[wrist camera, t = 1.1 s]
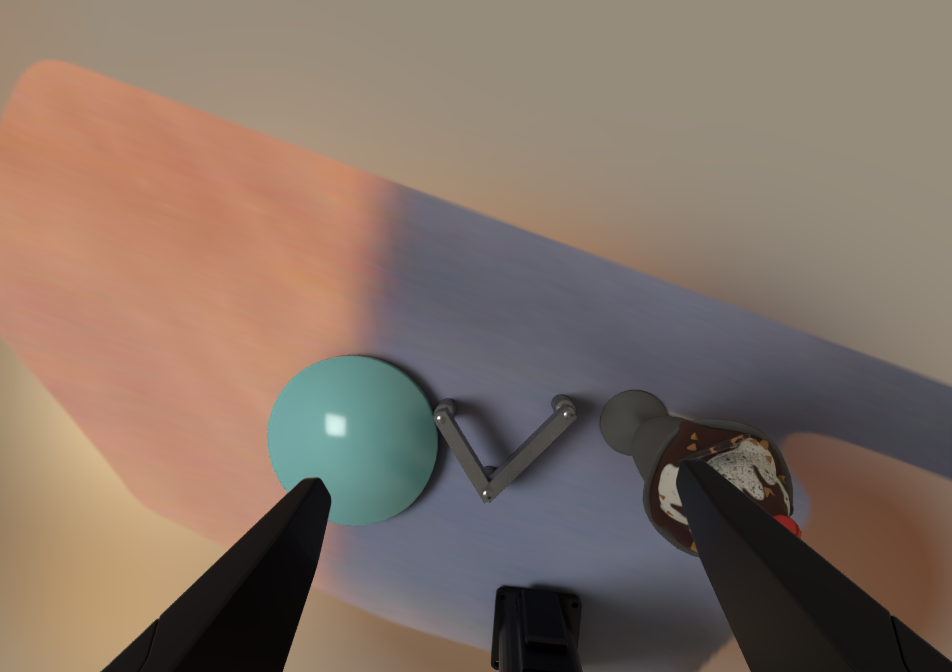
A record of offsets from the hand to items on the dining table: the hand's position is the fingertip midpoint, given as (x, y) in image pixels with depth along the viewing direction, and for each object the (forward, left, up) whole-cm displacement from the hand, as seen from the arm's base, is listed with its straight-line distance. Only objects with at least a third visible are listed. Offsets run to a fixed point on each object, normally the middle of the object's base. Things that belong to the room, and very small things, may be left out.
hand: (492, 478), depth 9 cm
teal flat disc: (-6, +10, -18) cm, 22 cm away
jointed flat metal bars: (-5, -1, -18) cm, 19 cm away
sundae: (-3, -11, -18) cm, 21 cm away
